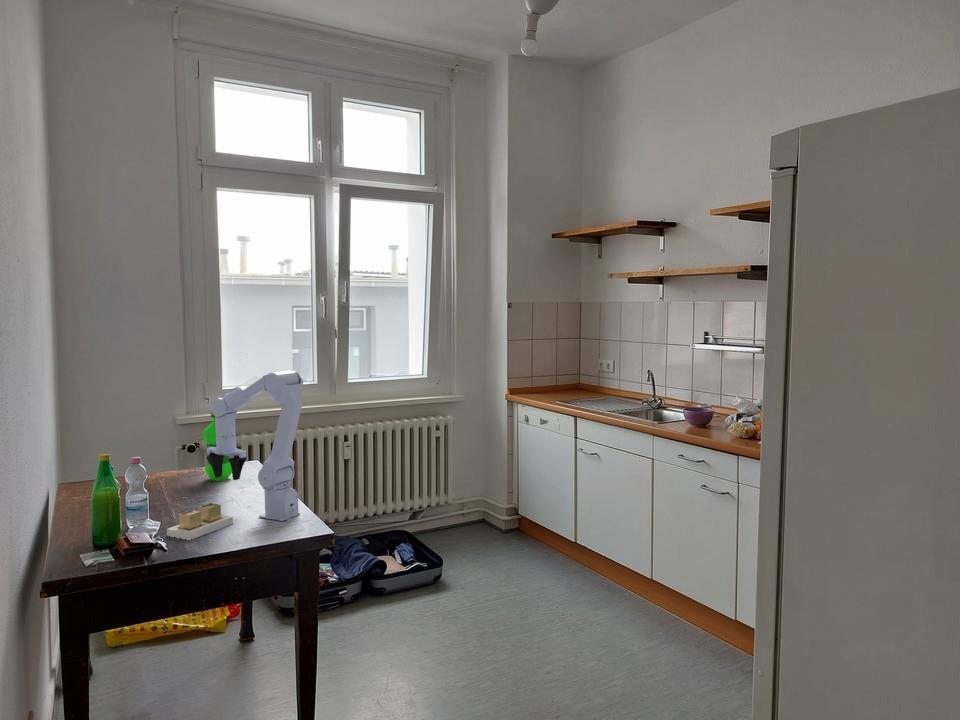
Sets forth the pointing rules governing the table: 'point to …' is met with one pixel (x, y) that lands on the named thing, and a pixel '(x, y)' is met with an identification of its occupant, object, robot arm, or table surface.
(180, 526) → the seated billet
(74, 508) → the table surface
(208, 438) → the plastic bottle
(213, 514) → the brass billet
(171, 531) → the tray
